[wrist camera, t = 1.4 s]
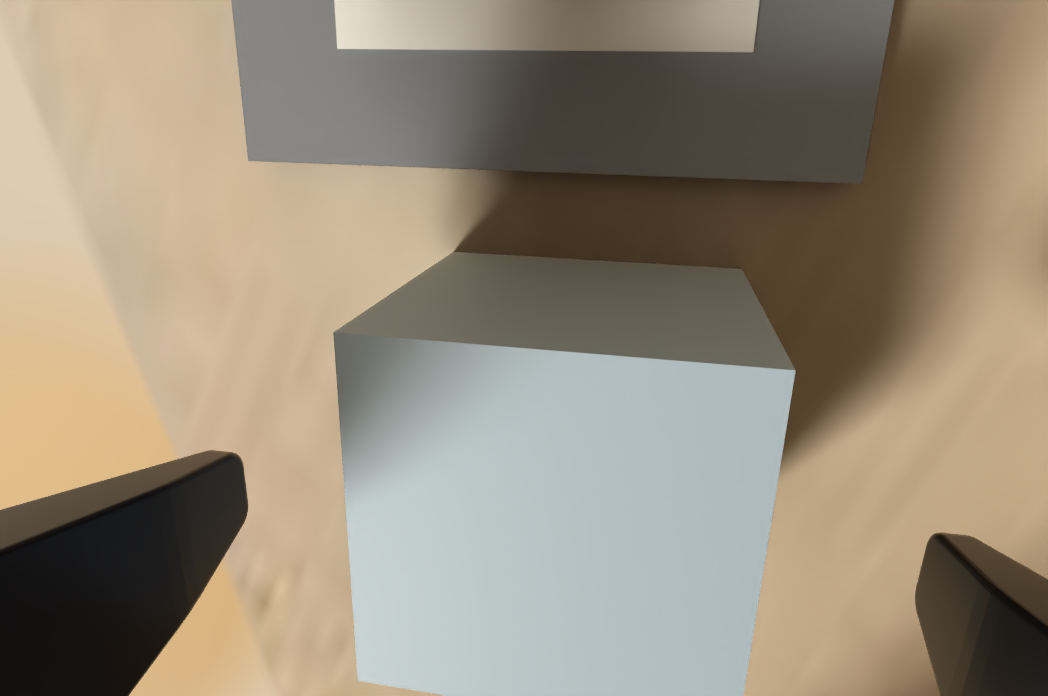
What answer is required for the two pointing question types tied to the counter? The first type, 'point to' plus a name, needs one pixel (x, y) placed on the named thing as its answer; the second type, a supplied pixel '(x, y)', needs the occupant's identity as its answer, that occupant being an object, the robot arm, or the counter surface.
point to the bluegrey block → (560, 476)
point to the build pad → (566, 85)
